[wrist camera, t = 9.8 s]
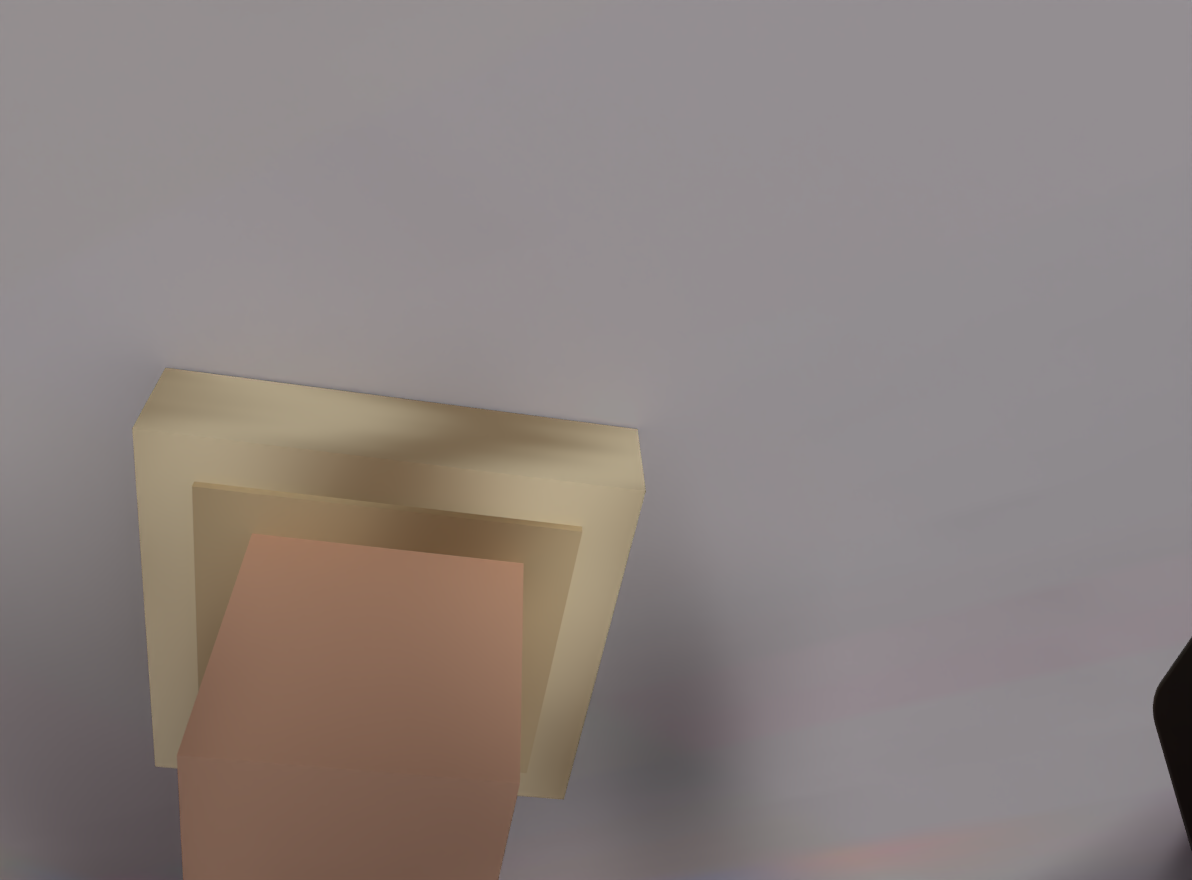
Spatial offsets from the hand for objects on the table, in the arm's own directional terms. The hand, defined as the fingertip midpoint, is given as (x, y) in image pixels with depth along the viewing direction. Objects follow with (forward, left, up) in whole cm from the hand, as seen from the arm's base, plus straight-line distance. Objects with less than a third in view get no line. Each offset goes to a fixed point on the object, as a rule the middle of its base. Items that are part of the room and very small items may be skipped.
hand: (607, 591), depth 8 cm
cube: (+2, +11, -10) cm, 15 cm away
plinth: (+2, +11, -12) cm, 16 cm away
